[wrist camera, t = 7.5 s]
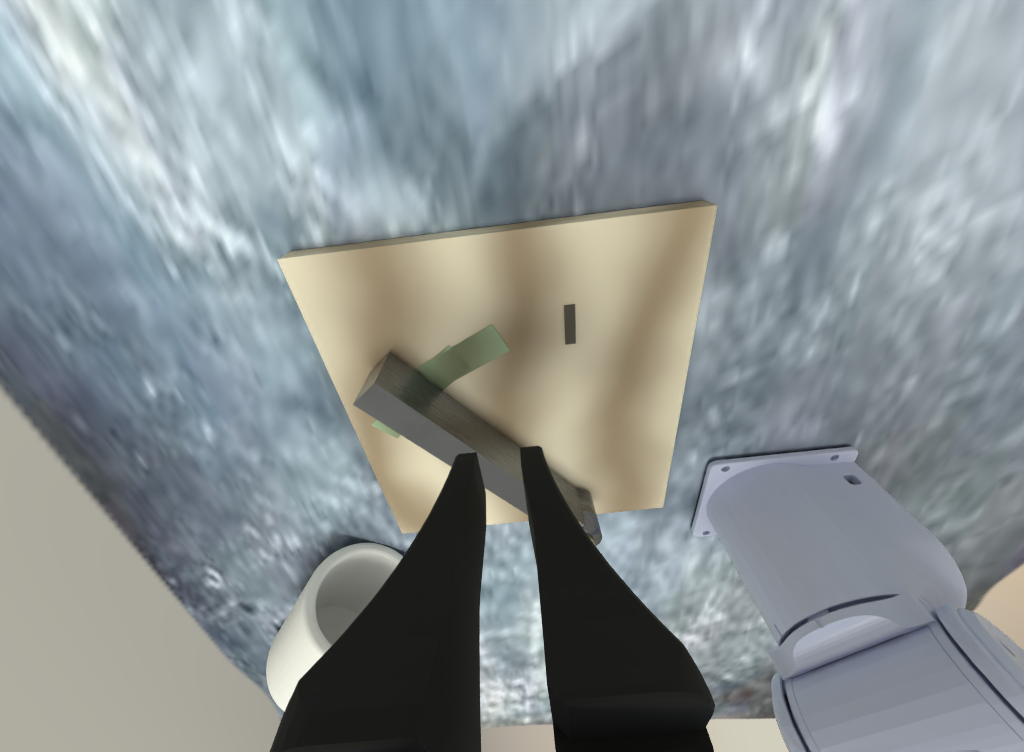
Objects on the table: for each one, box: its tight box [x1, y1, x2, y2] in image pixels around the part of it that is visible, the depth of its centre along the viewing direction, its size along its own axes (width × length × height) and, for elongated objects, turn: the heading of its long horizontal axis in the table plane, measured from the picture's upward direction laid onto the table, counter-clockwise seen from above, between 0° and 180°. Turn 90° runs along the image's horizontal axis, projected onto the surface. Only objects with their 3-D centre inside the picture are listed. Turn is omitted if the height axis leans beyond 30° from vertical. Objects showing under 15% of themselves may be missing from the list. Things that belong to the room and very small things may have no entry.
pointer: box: [353, 352, 602, 546], centre depth 20 cm, size 2×16×3 cm, turn 44°
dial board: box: [277, 200, 717, 533], centre depth 21 cm, size 18×19×1 cm
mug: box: [266, 543, 403, 712], centre depth 28 cm, size 12×10×8 cm
